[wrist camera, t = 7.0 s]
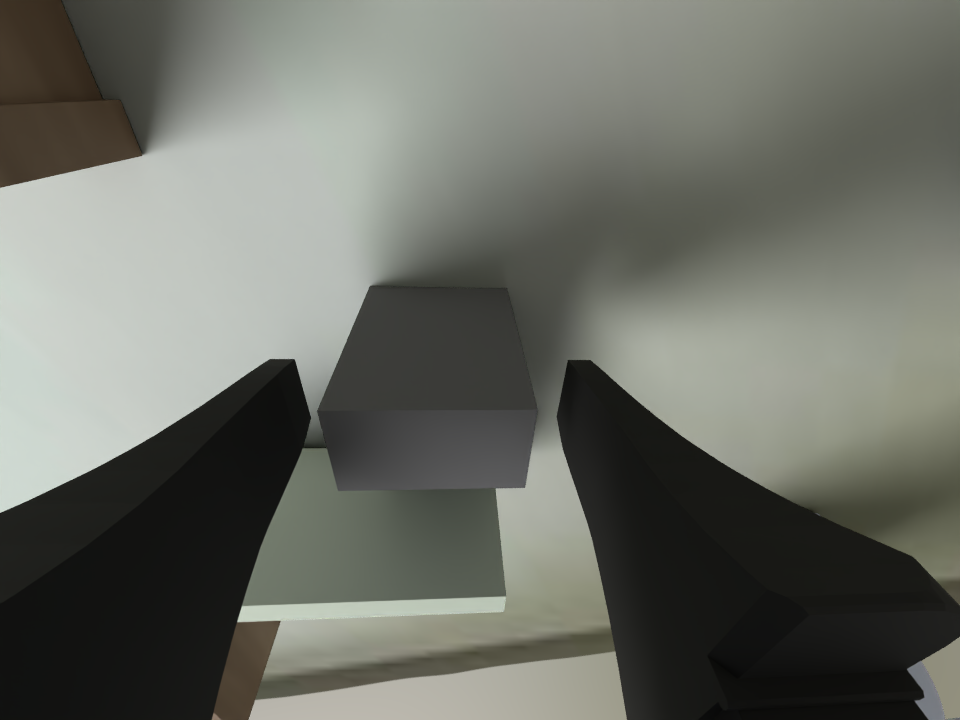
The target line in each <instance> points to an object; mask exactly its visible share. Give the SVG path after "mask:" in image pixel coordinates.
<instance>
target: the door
mask: <svg viewBox="0 0 960 720" xmlns="http://www.w3.org/2000/svg"><path fill="white" fill-rule="evenodd" d="M505 600H506V590H505V580H504V570H503V560H502V550H501V540H500V530H499V520H498V510H497V500H496V490H495V488H484V489H429V490H375V491H338V489H337V485H336V481H335V477H334V474H333V470H332V466H331V462H330V458H329V454H328V451H327V448H303V449H302V452H301V454H300V457H299V459H298V462H297V464H296V466H295V468H294V471H293V473H292V475H291V478H290V480H289V482H288V484H287V487H286V489H285V491H284V494H283V496H282V498H281V500H280V503H279V505H278V507H277V509H276V512H275V514H274V516H273V518H272V521H271V523H270V525H269V527H268V530H267V532H266V535H265V537H264V540H263V542H262V545H261V547H260V550H259V553H258V557H257V560H256V563H255V566H254V569H253V572H252V575H251V578H250V581H249V584H248V587H247V591H246V594H245V598H244V601H243V604H242V608H241V611H240V614H239V618H238V621H237V622H256V621H282V620H307V619H333V618H359V617H384V616H410V615H436V614H461V613H487V612H504V607H505Z"/></svg>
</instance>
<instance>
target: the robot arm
mask: <svg viewBox="0 0 960 720" xmlns="http://www.w3.org/2000/svg"><path fill="white" fill-rule="evenodd" d="M310 420H311V416H310V413H309V409H308V406H307V402H306V398H305V395H304V391H303V387H302V384H301V380H300V377H299V373H298V369H297V366H296V362H295V359H270V360H268V361H267V362H265V363H263V364H262V365H260V366H259V367H257V368H256V369H254V370H253V371H251V372H250V373H248V374H247V375H245V376H244V377H242V378H241V379H240V380H238V381H237V382H235V383H234V384H232V385H231V386H230V387H228V388H227V389H225V390H224V391H222V392H221V393H219V394H218V395H216V396H215V397H214V398H212V399H211V400H209V401H208V402H206V403H205V404H203V405H202V406H200V407H199V408H197V409H196V410H194V411H193V412H191V413H189V414H188V415H186V416H185V417H183V418H182V419H180V420H178V421H177V422H175V423H174V424H172V425H171V426H169V427H167V428H166V429H164V430H163V431H161V432H160V433H158V434H156V435H155V436H153V437H151V438H150V439H148V440H146V441H145V442H143V443H141V444H139V445H138V446H136V447H134V448H132V449H131V450H129V451H127V452H125V453H123V454H121V455H119V456H118V457H116V458H114V459H112V460H110V461H108V462H107V463H105V464H103V465H101V466H99V467H97V468H95V469H93V470H91V471H89V472H87V473H85V474H83V475H81V476H79V477H77V478H75V479H73V480H71V481H68V482H66V483H64V484H62V485H60V486H58V487H56V488H54V489H52V490H50V491H48V492H46V493H43V494H41V495H39V496H37V497H35V498H33V499H31V500H29V501H27V502H24V503H22V504H20V505H18V506H15V507H13V508H11V509H8V510H6V511H4V512H1V513H0V720H212V717H213V713H214V709H215V704H216V700H217V696H218V692H219V688H220V684H221V680H222V676H223V672H224V669H225V665H226V661H227V657H228V654H229V650H230V646H231V642H232V639H233V635H234V631H235V628H236V625H237V621H238V618H239V614H240V611H241V608H242V604H243V601H244V598H245V594H246V591H247V587H248V584H249V581H250V578H251V575H252V572H253V569H254V566H255V563H256V560H257V557H258V553H259V550H260V547H261V545H262V542H263V540H264V537H265V535H266V532H267V530H268V527H269V525H270V523H271V521H272V518H273V516H274V514H275V512H276V509H277V507H278V505H279V503H280V500H281V498H282V496H283V494H284V491H285V489H286V487H287V484H288V482H289V480H290V478H291V475H292V473H293V471H294V468H295V466H296V464H297V462H298V459H299V457H300V454H301V452H302V449H303V445H304V442H305V439H306V435H307V431H308V427H309V423H310ZM557 421H558V426H559V432H560V437H561V442H562V447H563V451H564V454H565V457H566V460H567V463H568V466H569V469H570V472H571V475H572V478H573V481H574V484H575V487H576V490H577V493H578V496H579V499H580V502H581V505H582V508H583V511H584V514H585V517H586V520H587V523H588V526H589V530H590V533H591V537H592V540H593V545H594V549H595V553H596V558H597V562H598V567H599V571H600V576H601V580H602V585H603V590H604V595H605V599H606V604H607V609H608V614H609V619H610V624H611V630H612V635H613V640H614V646H615V651H616V656H617V662H618V667H619V673H620V679H621V685H622V692H623V698H624V704H625V710H626V715H627V720H945V715H944V711H943V707H942V703H941V701H940V698H939V695H938V692H937V690H936V687H935V685H934V683H933V681H932V679H931V677H930V675H929V673H928V671H927V669H926V668H925V666H924V664H923V663H922V660H923V659H925V658H926V657H928V656H930V655H932V654H933V653H935V652H937V651H939V650H940V649H942V648H944V647H946V646H947V645H949V644H950V643H951V642H953V641H954V640H956V639H957V638H959V637H960V605H959V604H958V603H957V602H956V601H955V600H954V599H953V598H952V597H951V596H950V595H949V594H948V593H947V592H946V591H945V590H944V589H943V588H942V587H941V585H940V584H939V583H938V582H937V581H936V580H935V579H934V578H933V577H932V576H931V575H930V574H929V573H928V572H927V571H926V570H925V569H924V568H923V567H922V566H921V565H920V564H919V563H918V561H917V560H916V559H914V558H913V557H912V556H910V555H908V554H905V553H903V552H901V551H898V550H896V549H894V548H891V547H889V546H887V545H884V544H882V543H880V542H877V541H875V540H873V539H871V538H868V537H866V536H864V535H861V534H859V533H857V532H854V531H852V530H850V529H847V528H845V527H843V526H841V525H838V524H836V523H834V522H832V521H830V520H828V519H826V518H824V517H821V516H820V515H819V514H818V513H813V512H811V511H809V510H807V509H805V508H803V507H801V506H799V505H797V504H795V503H793V502H791V501H789V500H787V499H785V498H783V497H781V496H779V495H778V494H776V493H774V492H772V491H770V490H768V489H766V488H764V487H763V486H761V485H759V484H757V483H756V482H754V481H752V480H750V479H749V478H747V477H745V476H743V475H742V474H740V473H738V472H736V471H735V470H733V469H731V468H730V467H728V466H726V465H725V464H723V463H721V462H720V461H718V460H717V459H715V458H714V457H712V456H711V455H709V454H708V453H706V452H704V451H703V450H701V449H700V448H698V447H697V446H695V445H694V444H692V443H691V442H689V441H688V440H687V439H685V438H684V437H682V436H681V435H680V434H678V433H677V432H676V431H674V430H673V429H672V428H670V427H669V426H668V425H666V424H665V423H664V422H662V421H661V420H660V419H658V418H657V417H656V416H655V415H653V414H652V413H651V412H650V411H649V410H647V409H646V408H645V407H644V406H642V405H641V404H640V403H639V402H638V401H637V400H635V399H634V398H633V397H632V396H631V395H630V394H628V393H627V392H626V391H625V390H624V389H623V388H622V387H620V386H619V385H618V384H617V383H616V382H615V381H614V380H613V379H611V378H610V377H609V376H608V375H607V374H606V373H605V372H604V371H602V370H601V369H600V368H599V367H598V366H597V365H596V364H594V363H593V362H592V361H591V360H568V363H567V368H566V373H565V378H564V383H563V388H562V393H561V398H560V403H559V408H558V413H557ZM946 720H960V718H953V719H946Z"/></svg>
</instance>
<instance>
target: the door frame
mask: <svg viewBox="0 0 960 720" xmlns="http://www.w3.org/2000/svg"><path fill="white" fill-rule="evenodd" d="M139 156H142V153H141V151H140V148H139V146H138V143H137V141H136V138H135V136H134V133H133V131H132V128H131V126H130V123H129V121H128V118H127V116H126V113H125V111H124V108H123V106H122V103H121V101H120V100H106V99H102V97H101V94H100V92H99V90H98V87H97V85H96V83H95V80H94V78H93V75H92V73H91V71H90V68H89V66H88V64H87V61H86V59H85V56H84V54H83V52H82V49H81V47H80V45H79V42H78V40H77V37H76V35H75V33H74V30H73V28H72V26H71V23H70V21H69V19H68V16H67V14H66V11H65V9H64V7H63V4H62V2H61V0H0V188H1V187H5V186H10V185H14V184H19V183H23V182H28V181H32V180H37V179H41V178H45V177H50V176H54V175H59V174H63V173H68V172H72V171H77V170H81V169H86V168H90V167H94V166H99V165H103V164H108V163H112V162H117V161H121V160H126V159H130V158H134V157H139ZM279 624H280V621H256V622H237V625H236V628H235V631H234V635H233V639H232V642H231V646H230V650H229V654H228V657H227V661H226V665H225V669H224V672H223V676H222V680H221V684H220V688H219V692H218V696H217V700H216V704H215V709H214V713H213V717H212V720H248V719H249V716H250V713H251V710H252V707H253V704H254V701H255V698H256V695H257V692H258V689H259V686H260V683H261V680H262V677H263V673H264V670H265V667H266V664H267V661H268V658H269V655H270V652H271V649H272V646H273V643H274V640H275V637H276V634H277V631H278V627H279Z"/></svg>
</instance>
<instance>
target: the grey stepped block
mask: <svg viewBox="0 0 960 720" xmlns="http://www.w3.org/2000/svg"><path fill="white" fill-rule="evenodd" d="M317 412H318V416H319V420H320V424H321V427H322V431H323V435H324V439H325V443H326V447H327V451H328V454H329V458H330V462H331V466H332V470H333V474H334V477H335V481H336V485H337V489H338V491H375V490H429V489H484V488H525V485H526V479H527V473H528V467H529V460H530V454H531V448H532V442H533V436H534V430H535V424H536V418H537V412H538V408H537V405H536V401H535V397H534V393H533V389H532V385H531V381H530V377H529V373H528V369H527V365H526V362H525V358H524V354H523V350H522V346H521V342H520V338H519V334H518V330H517V326H516V322H515V319H514V315H513V311H512V307H511V303H510V299H509V295H508V291H507V288H446V287H381V286H370V287H369V290H368V292H367V294H366V297H365V299H364V301H363V304H362V306H361V309H360V311H359V313H358V316H357V318H356V320H355V323H354V325H353V327H352V330H351V332H350V335H349V337H348V339H347V342H346V344H345V346H344V349H343V351H342V353H341V356H340V358H339V361H338V363H337V365H336V368H335V370H334V372H333V375H332V377H331V379H330V382H329V384H328V387H327V389H326V391H325V394H324V396H323V398H322V401H321V403H320V405H319V408H318V410H317Z"/></svg>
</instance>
